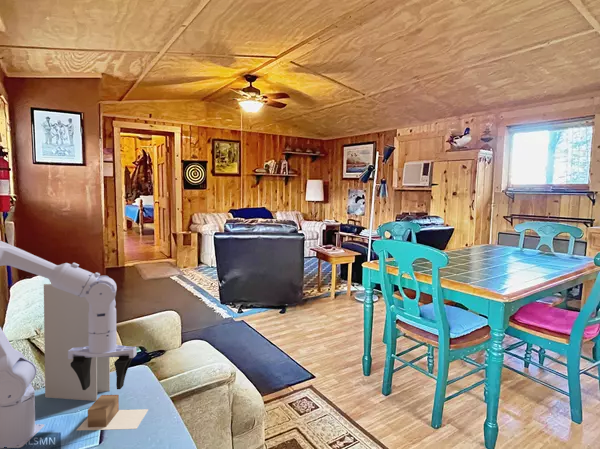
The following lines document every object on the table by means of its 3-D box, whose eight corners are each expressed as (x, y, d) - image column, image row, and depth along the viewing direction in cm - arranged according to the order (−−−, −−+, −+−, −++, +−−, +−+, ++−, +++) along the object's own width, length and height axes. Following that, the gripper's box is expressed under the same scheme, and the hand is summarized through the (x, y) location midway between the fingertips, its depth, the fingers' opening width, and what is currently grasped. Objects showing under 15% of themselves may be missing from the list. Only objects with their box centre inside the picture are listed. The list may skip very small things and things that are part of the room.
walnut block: (106, 426, 83) (106, 409, 83) (87, 427, 83) (87, 409, 83) (118, 410, 90) (118, 394, 89) (101, 411, 89) (101, 395, 89)
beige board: (76, 432, 82) (76, 430, 82) (93, 412, 90) (93, 410, 90) (136, 430, 82) (136, 428, 82) (148, 411, 90) (148, 409, 90)
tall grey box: (110, 392, 100) (109, 282, 98) (96, 402, 94) (95, 286, 93) (61, 388, 101) (59, 280, 100) (45, 399, 95) (43, 284, 94)
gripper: (141, 324, 89) (141, 379, 90) (79, 324, 88) (79, 380, 89) (129, 334, 82) (130, 393, 83) (62, 334, 81) (63, 395, 82)
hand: (103, 387), depth 86 cm, fingers open, 7 cm apart
